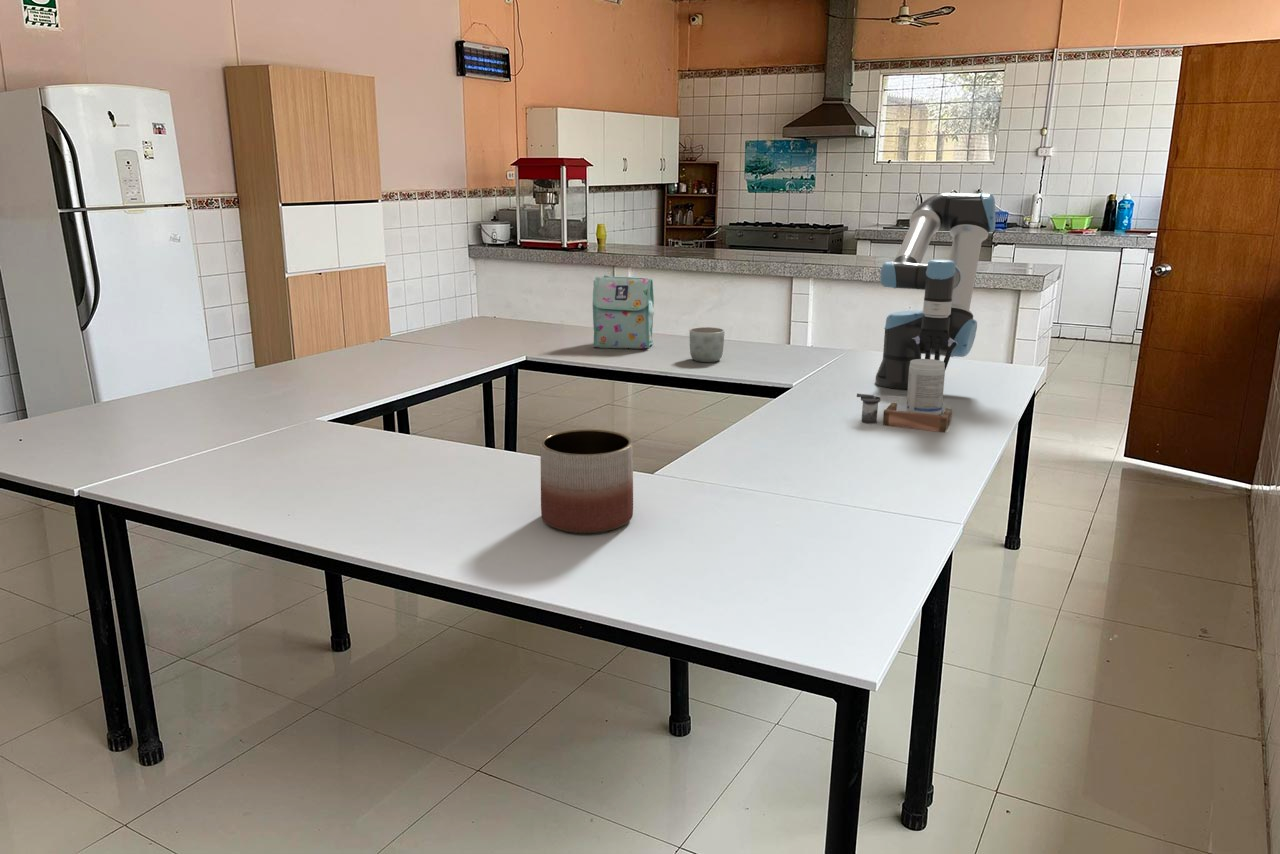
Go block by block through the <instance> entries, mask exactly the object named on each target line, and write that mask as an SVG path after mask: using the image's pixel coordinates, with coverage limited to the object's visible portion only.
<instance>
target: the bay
mask: <svg viewBox="0 0 1280 854" xmlns="http://www.w3.org/2000/svg"><path fill="white" fill-rule="evenodd" d="M897 408H898V402H890V404H889V405H888V406H887V407H886V409H884V410H883V415H882V416H883V417H882V426H887V427H895V428H903V429H904V428H905V429H915V430H921V431H930V432H937V433H938V432H940V433H946V431H947V429H948V427H949V425H950V424H951V421H952V419H951V418H952V408H945V409H944V411H943V413H942V415H941V414H939V415H932V414H923V413H913V412H907V411H904V410H903V411H902V410H897Z"/></svg>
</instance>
